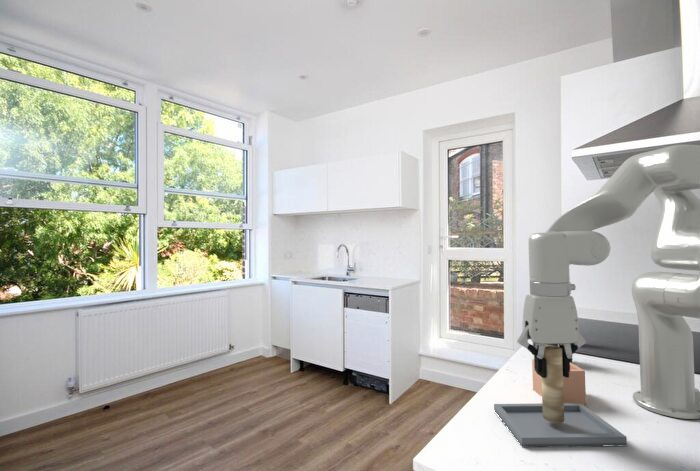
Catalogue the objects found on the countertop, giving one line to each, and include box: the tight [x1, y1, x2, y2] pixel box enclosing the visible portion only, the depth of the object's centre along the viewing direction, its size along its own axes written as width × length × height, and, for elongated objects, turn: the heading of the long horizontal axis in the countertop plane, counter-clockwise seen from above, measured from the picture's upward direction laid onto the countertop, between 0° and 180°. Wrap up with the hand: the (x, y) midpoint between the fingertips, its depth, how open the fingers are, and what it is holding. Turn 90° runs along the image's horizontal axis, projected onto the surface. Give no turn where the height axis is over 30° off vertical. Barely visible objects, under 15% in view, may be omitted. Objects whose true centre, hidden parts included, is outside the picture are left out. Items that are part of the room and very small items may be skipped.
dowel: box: [541, 344, 564, 423], centre depth 75 cm, size 4×4×15 cm
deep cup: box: [531, 358, 587, 405], centre depth 89 cm, size 8×8×8 cm
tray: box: [493, 402, 628, 448], centre depth 75 cm, size 20×14×2 cm
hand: (552, 374), depth 75 cm, fingers closed on dowel, 4 cm apart
